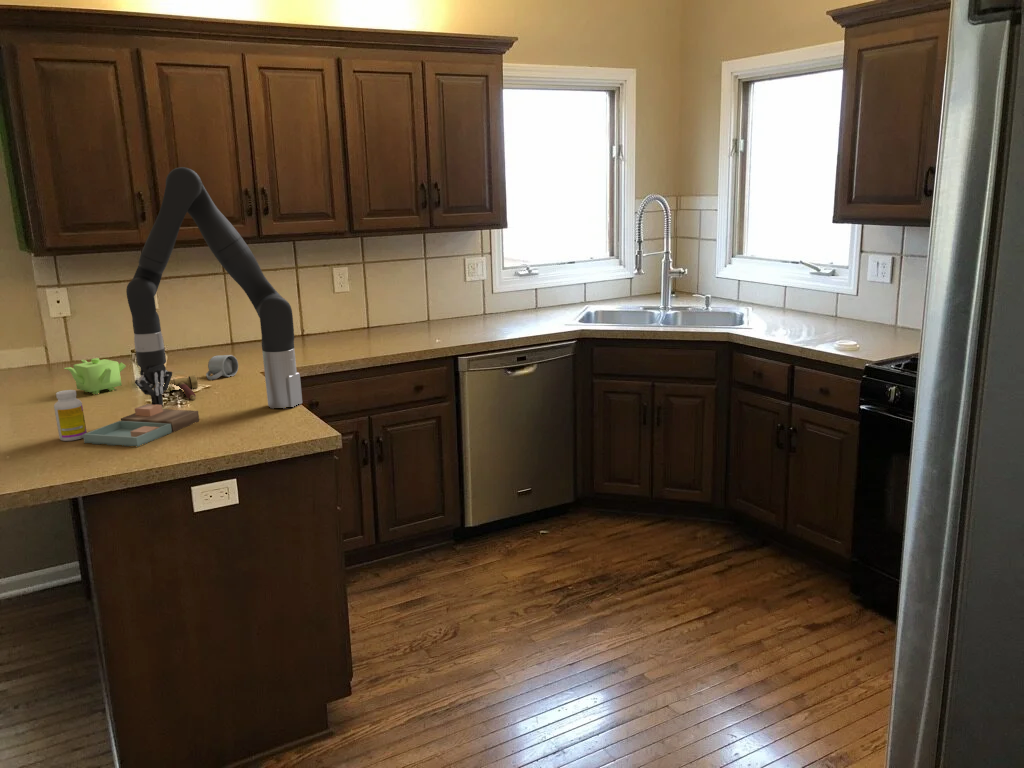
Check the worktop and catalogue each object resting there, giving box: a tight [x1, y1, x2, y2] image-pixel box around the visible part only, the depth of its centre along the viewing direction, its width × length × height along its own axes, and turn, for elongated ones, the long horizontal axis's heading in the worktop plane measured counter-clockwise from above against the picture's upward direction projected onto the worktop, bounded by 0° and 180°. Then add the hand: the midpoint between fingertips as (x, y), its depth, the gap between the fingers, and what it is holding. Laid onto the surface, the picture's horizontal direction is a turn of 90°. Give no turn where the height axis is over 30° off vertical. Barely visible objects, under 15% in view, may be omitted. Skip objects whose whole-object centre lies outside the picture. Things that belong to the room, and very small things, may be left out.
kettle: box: [63, 357, 127, 395], centre depth 272 cm, size 15×14×11 cm
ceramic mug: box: [205, 354, 239, 381], centre depth 288 cm, size 11×8×8 cm
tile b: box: [134, 403, 164, 416], centre depth 230 cm, size 5×5×2 cm
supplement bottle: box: [53, 389, 88, 442], centre depth 218 cm, size 7×7×13 cm
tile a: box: [130, 426, 159, 437], centre depth 216 cm, size 5×5×2 cm
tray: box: [82, 420, 173, 448], centre depth 217 cm, size 17×13×2 cm
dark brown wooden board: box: [120, 408, 200, 433], centre depth 229 cm, size 17×11×3 cm, turn 73°
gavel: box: [169, 375, 199, 401], centre depth 264 cm, size 21×5×10 cm
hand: (158, 407), depth 233 cm, fingers closed
